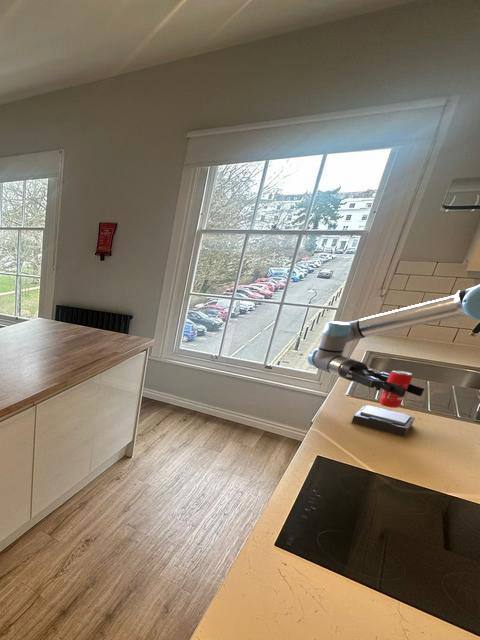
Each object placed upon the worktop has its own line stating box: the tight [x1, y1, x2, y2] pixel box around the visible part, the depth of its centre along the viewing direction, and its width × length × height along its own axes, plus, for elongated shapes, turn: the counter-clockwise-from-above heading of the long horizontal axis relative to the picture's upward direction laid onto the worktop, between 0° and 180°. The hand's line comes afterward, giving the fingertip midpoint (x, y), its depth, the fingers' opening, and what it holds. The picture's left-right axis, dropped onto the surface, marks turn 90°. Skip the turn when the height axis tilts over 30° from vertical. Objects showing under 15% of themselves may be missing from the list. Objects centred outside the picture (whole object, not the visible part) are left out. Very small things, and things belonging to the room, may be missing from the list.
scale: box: [350, 405, 416, 437], centre depth 138 cm, size 13×13×4 cm
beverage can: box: [379, 369, 413, 409], centre depth 135 cm, size 5×5×12 cm
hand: (412, 392), depth 130 cm, fingers closed on beverage can, 5 cm apart
